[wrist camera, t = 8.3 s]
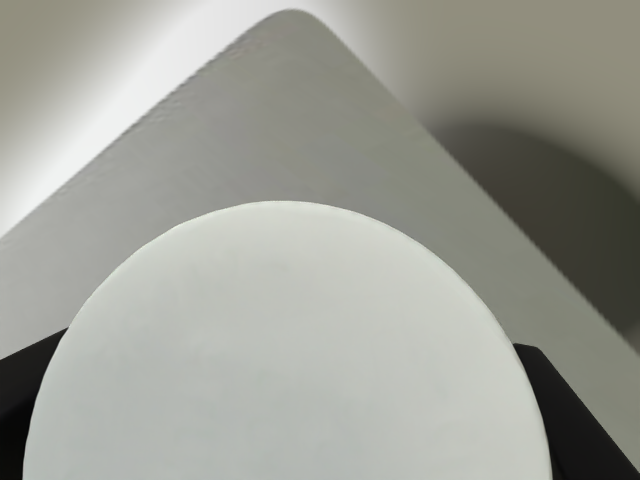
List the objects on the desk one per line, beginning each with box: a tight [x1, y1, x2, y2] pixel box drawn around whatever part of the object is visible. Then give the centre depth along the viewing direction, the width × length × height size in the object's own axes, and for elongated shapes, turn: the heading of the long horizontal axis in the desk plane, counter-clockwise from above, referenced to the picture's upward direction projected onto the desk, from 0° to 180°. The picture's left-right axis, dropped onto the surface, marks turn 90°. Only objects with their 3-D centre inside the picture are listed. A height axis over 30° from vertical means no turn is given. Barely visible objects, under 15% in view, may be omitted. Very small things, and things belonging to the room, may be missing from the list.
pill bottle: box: [23, 201, 553, 480], centre depth 9 cm, size 6×6×11 cm
